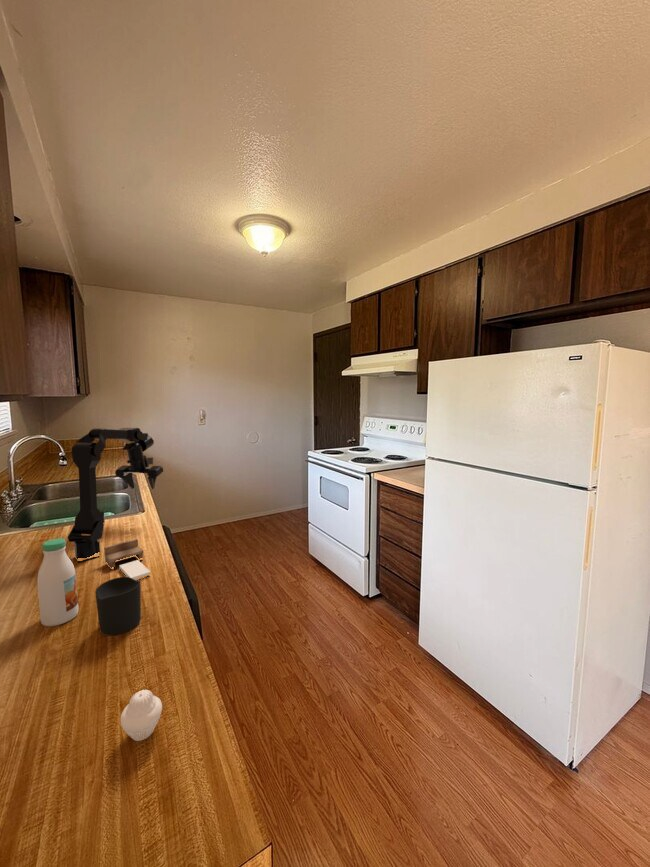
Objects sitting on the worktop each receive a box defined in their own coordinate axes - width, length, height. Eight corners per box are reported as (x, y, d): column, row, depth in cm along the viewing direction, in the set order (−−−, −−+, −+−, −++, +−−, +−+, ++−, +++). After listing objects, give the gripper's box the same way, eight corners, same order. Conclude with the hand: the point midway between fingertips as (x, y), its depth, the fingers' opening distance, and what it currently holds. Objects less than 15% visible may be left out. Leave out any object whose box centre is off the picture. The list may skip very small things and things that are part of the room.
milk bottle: (55, 630, 86) (48, 549, 84) (33, 623, 88) (25, 545, 86) (86, 612, 93) (80, 537, 91) (64, 606, 95) (58, 533, 93)
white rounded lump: (169, 715, 63) (167, 678, 62) (153, 749, 57) (151, 708, 56) (133, 716, 62) (130, 679, 62) (113, 750, 56) (110, 710, 56)
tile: (131, 584, 108) (130, 578, 107) (119, 571, 116) (119, 565, 116) (150, 577, 112) (150, 571, 111) (138, 565, 120) (138, 559, 119)
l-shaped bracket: (110, 570, 115) (109, 552, 115) (105, 564, 119) (104, 547, 119) (143, 560, 122) (142, 543, 122) (137, 555, 126) (136, 538, 126)
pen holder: (144, 610, 94) (142, 573, 93) (140, 631, 85) (137, 591, 84) (102, 618, 90) (100, 580, 89) (94, 641, 82) (91, 600, 81)
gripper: (166, 448, 159) (172, 480, 165) (126, 448, 161) (133, 479, 166) (152, 459, 149) (159, 492, 154) (110, 458, 150) (118, 491, 156)
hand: (143, 488), depth 158 cm, fingers open, 9 cm apart
